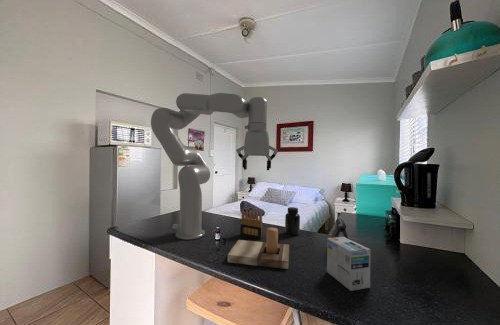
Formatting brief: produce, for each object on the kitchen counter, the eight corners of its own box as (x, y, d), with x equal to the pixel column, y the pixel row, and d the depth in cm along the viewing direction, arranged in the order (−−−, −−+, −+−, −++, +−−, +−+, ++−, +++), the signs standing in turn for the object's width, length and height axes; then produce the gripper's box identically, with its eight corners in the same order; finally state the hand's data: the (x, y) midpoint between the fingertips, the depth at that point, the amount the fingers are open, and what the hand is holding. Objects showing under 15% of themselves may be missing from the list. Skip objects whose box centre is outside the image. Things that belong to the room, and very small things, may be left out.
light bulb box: (371, 288, 59) (372, 249, 59) (350, 292, 57) (351, 251, 57) (343, 269, 70) (344, 235, 70) (325, 272, 68) (326, 237, 68)
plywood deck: (227, 262, 73) (227, 254, 73) (238, 246, 87) (238, 239, 87) (288, 269, 69) (288, 261, 69) (289, 251, 83) (289, 244, 83)
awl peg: (265, 259, 75) (265, 230, 75) (266, 254, 79) (267, 227, 79) (276, 260, 75) (277, 231, 74) (277, 255, 78) (278, 228, 78)
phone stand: (351, 250, 84) (352, 219, 84) (354, 257, 79) (355, 224, 78) (327, 247, 87) (327, 217, 87) (327, 253, 81) (328, 221, 81)
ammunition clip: (263, 238, 96) (263, 211, 96) (261, 239, 94) (261, 211, 94) (241, 233, 101) (242, 208, 101) (239, 235, 99) (240, 208, 99)
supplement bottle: (282, 233, 103) (282, 208, 103) (289, 230, 108) (290, 206, 108) (294, 237, 98) (295, 210, 98) (302, 233, 103) (302, 208, 103)
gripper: (234, 127, 88) (233, 169, 88) (277, 126, 84) (276, 170, 85) (239, 129, 95) (238, 169, 95) (279, 129, 92) (278, 170, 92)
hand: (256, 169), depth 90 cm, fingers open, 9 cm apart
